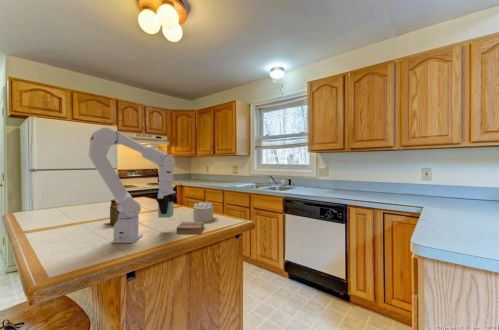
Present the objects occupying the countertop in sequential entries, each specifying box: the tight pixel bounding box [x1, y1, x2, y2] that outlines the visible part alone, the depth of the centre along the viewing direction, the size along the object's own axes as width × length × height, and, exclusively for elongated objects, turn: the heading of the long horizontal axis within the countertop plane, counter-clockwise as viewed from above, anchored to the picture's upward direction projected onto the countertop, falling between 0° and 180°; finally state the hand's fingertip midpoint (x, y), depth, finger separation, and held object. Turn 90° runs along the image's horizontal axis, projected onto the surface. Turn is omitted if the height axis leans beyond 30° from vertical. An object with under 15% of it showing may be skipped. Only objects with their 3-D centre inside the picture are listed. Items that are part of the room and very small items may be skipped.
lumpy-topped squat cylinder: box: [192, 202, 214, 223], centre depth 127 cm, size 10×13×9 cm
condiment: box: [103, 198, 120, 228], centre depth 116 cm, size 7×8×12 cm
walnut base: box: [176, 221, 205, 235], centre depth 107 cm, size 10×10×3 cm
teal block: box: [157, 201, 174, 219], centre depth 105 cm, size 5×5×6 cm
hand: (165, 212), depth 105 cm, fingers closed on teal block, 5 cm apart
